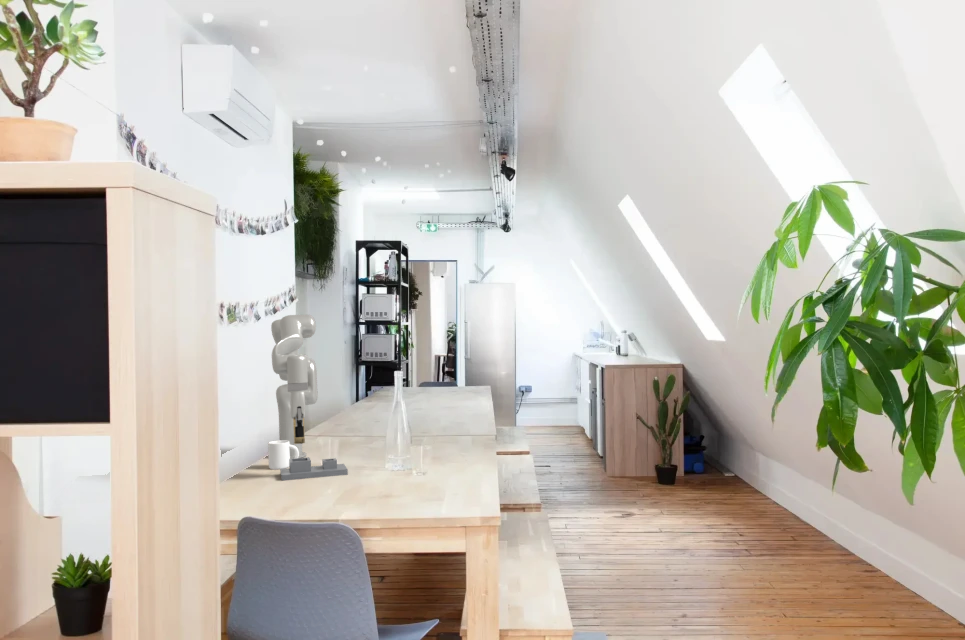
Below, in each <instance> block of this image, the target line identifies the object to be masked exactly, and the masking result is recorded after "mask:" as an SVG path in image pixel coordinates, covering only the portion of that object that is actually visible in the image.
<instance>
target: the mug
mask: <svg viewBox="0 0 965 640" xmlns="http://www.w3.org/2000/svg"><path fill="white" fill-rule="evenodd" d="M267 444H268V445H267V453H268V468H269V469H270V470H275V471H276V470H280V469H288V468H289V459H290V448H291V449H294V450H295V452H296V456H295V458H298V457H299V451H298V449H297V447H296V446H294V445H289V441H286V440H280V441H279V440H273V441H269V442H268V443H267ZM295 458H294V459H295Z"/></svg>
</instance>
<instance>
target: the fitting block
mask: <svg viewBox="0 0 965 640" xmlns="http://www.w3.org/2000/svg"><path fill="white" fill-rule="evenodd" d="M321 460H322V461H321V462H322V465H316V466H312V459H311V457H308V456H307V457H302V458H295V459H289V467H288V468H285V469H279V470H280V472H279V473H280V478H281V479H280V480H281V481H289V480H290V481H292V480H302V479H303V480H304V479H315V478H326V477H335V476H344V475H346V476H347V475H348V474H349V471H348V468H347V466H346V465H345V463H338V461H337V459H336V457H335V458H334V457H333V458H324V459H323V458H322V459H321Z"/></svg>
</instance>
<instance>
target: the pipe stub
mask: <svg viewBox="0 0 965 640" xmlns="http://www.w3.org/2000/svg"><path fill="white" fill-rule="evenodd" d="M297 412H298V411H297ZM296 418H298V417H297V416H296ZM301 418H302V416H301ZM303 426H304V427H305V417H304V418H303ZM293 427H294V444H302V445H303V444H305V443H306V441H305V440H306V437H305V436H306V435H305V429H304V437H297V438H296V437H295V427H296V422H295V417H294V418H293Z"/></svg>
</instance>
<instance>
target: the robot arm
mask: <svg viewBox="0 0 965 640" xmlns="http://www.w3.org/2000/svg"><path fill="white" fill-rule="evenodd" d="M270 326H271V328H270V330H271V335H272V338H273V341H274V342H275V345H273V348H272V351H271V364H272V365H271V366H272V370H273V372H274V373H275V374H276V375H279V378H280V380H282V381H287V382H286V383H285V384H282V385H279V386H278V387H277V388H276V390H275V398H276V403H277V410H278V430H279V431H278V434H279V435H278V437H279V438H278V439H279V440H278V441H280V440H286V441H289V445H294V446H296V447H297V449H298V451H299V457H298V458H306V456H307V453H306V452H304V451H303V443H302V444H294V427H293V418H294V417H295V422H296V427H295V437H296V438H297V437H304V430H305V425H304V426H303V418H304V419H305V418H306V406H311V405H315V404H316V403H317V402H318V398H319V397H318V396H319V395H318V375H317V374H318V373H317V371H318V370H317V365H316V362H315V360H314V359H312V358H310V357H309V356H308V355H306V354H303V353H302V354H301V353H299V349H300V348H301V347H302V345H303V343H304V339H308V338H309V339H310V338H312V337H313V336H314V334H315V332H316V330H317V328H316V327H317V324H316V321H315V318H314V317H313V316H312V315H310V314H289V315H285V316H282V318H281V319H275V320H274V321H273V322H272V323H271V325H270ZM297 411H298V412H297ZM296 416H297V417H298V418H296ZM301 416H302V418H301ZM295 456H296V452H295V450H294V449H291V448H290V459H294V458H295Z"/></svg>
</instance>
